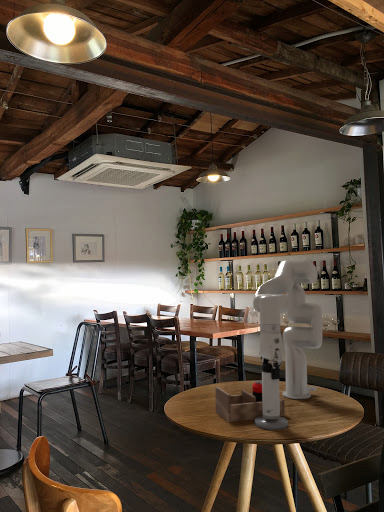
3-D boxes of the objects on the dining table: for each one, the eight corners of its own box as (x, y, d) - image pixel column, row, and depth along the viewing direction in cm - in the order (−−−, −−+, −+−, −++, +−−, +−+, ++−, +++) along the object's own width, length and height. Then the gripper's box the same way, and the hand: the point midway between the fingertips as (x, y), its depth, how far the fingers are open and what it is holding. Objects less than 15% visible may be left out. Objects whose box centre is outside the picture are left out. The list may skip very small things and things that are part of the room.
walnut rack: (268, 406, 182) (268, 382, 182) (284, 415, 170) (284, 389, 170) (215, 411, 174) (215, 386, 175) (228, 422, 162) (228, 395, 163)
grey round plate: (277, 417, 167) (277, 413, 167) (294, 427, 156) (294, 423, 156) (249, 421, 163) (249, 417, 163) (264, 431, 152) (264, 427, 152)
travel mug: (270, 420, 155) (269, 364, 156) (259, 416, 161) (258, 361, 162) (284, 418, 158) (282, 363, 159) (272, 413, 164) (271, 360, 165)
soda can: (248, 412, 174) (248, 382, 174) (259, 408, 179) (259, 379, 180) (264, 416, 168) (264, 385, 169) (275, 412, 174) (274, 382, 175)
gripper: (291, 330, 154) (292, 381, 153) (267, 325, 171) (268, 371, 170) (272, 331, 152) (273, 383, 151) (250, 326, 168) (251, 372, 167)
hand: (270, 376), depth 160 cm, fingers closed on travel mug, 6 cm apart
